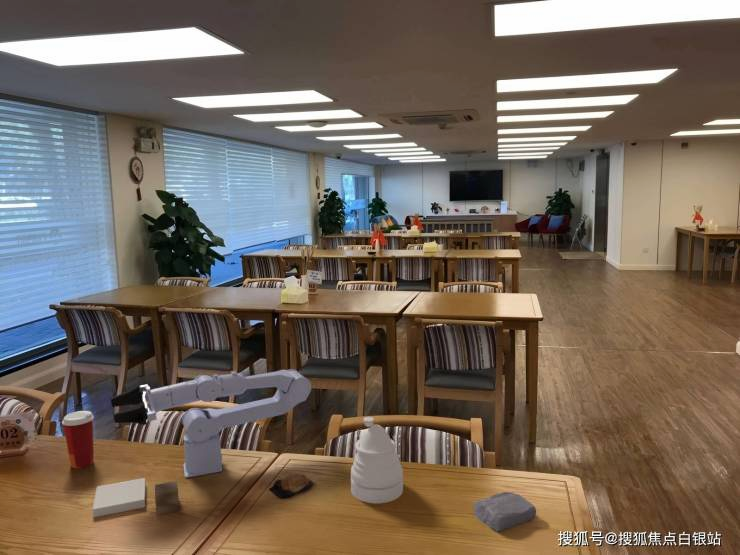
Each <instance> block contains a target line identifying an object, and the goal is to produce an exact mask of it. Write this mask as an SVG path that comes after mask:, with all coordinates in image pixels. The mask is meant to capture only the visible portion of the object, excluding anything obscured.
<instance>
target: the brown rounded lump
mask: <svg viewBox="0 0 740 555" xmlns="http://www.w3.org/2000/svg"><path fill="white" fill-rule="evenodd" d="M316 486H318V483H317V482H315V481H313V480H312V479H310V478H308V477H307V476H306V475H305V474H303V473H300V472H295V473H291V474H289V475H287V476H285V477H284V478H281V479H277V480H275V482H274V483H273V485H272V486H271V487H269V489H268V491H269V492H270V493H272V494H273V495H275V496H276V497H277V498H278V499H282V500H289V499H291V498H294V497H296V496H299V495H300V494H303V493H305V492H308V491H310V490H312V489H313V488H314V487H316Z"/></svg>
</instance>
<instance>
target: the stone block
mask: <svg viewBox="0 0 740 555" xmlns="http://www.w3.org/2000/svg"><path fill="white" fill-rule="evenodd" d="M473 513H474V516H475V517H476V518H477V520H478V521H480V522H482V523H483V524H485V525H486V526H487V527H489V528H490V529H492V530H493V531H494V532H496V533H499V532H502V531H505V530H508V529H510V528H514V527H516V526H519V525H522V524H525V523H529V522H530V521H532V520H534V519H535V517H536V515H537V510H536V506H534V504H532V503H531V502H530V501H529V500H527V499H526V498H525V497H523V496H521V494H518V493H514V492H512V491H511V492H509V491H503V492H500V493H496V494H492V495H490V496H489V497H488V498H484V499H480V500H479V499H478V500H476V501H474V504H473Z"/></svg>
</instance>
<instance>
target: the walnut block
mask: <svg viewBox="0 0 740 555" xmlns="http://www.w3.org/2000/svg"><path fill="white" fill-rule="evenodd" d="M179 497H180V496H179V488H178V480H174V481H168V482H163V483H158V484H154V500H155V501H154V502H155V514H156V516H159V515H163V514H168V513H169V514H170V513H175V512H178V511H180V501H179Z"/></svg>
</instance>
